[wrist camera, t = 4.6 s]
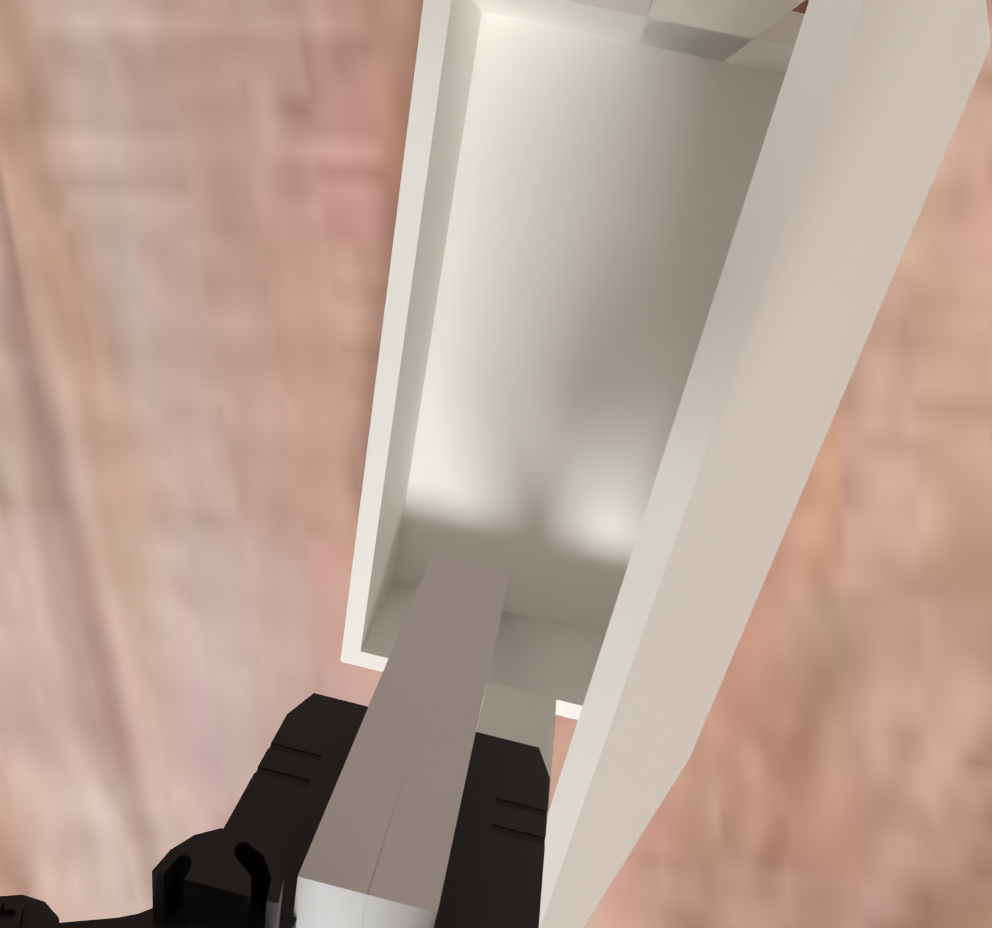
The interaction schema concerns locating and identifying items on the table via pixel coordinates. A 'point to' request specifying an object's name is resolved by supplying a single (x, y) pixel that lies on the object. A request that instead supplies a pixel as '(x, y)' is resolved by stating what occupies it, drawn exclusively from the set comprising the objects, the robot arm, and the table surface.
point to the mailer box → (550, 310)
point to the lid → (758, 403)
